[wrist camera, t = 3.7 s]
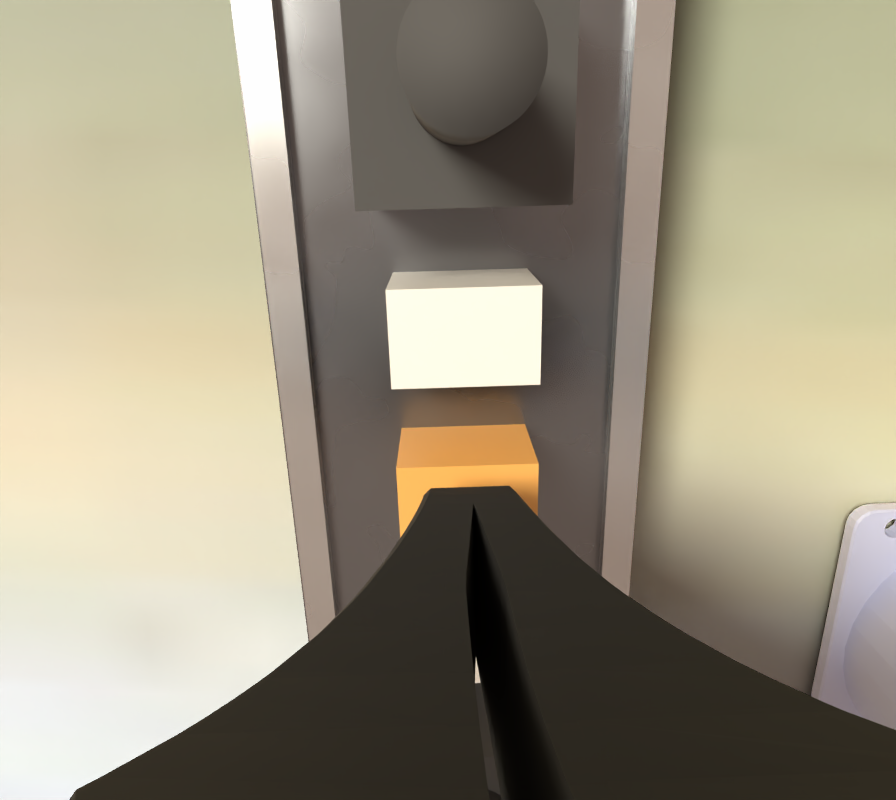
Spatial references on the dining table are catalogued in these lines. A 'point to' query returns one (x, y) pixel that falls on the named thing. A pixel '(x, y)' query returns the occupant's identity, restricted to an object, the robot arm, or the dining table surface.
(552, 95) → the cord plug
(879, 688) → the robot arm
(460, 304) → the block
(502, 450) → the block
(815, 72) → the dining table surface
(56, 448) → the dining table surface
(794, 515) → the dining table surface
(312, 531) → the strip
